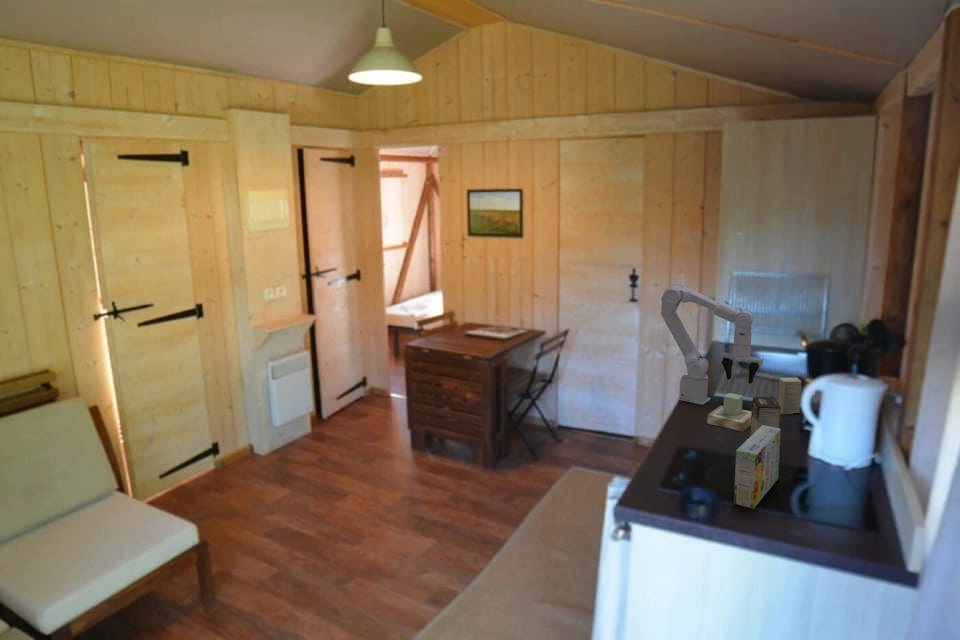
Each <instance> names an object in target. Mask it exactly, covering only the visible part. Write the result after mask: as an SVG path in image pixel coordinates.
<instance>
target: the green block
mask: <svg viewBox="0 0 960 640" xmlns="http://www.w3.org/2000/svg"><path fill="white" fill-rule="evenodd" d="M743 398H744V395H741V394H738V393H737V394H736V393H731V392H728V393H727V394H725V395H724V396H723V405H722V406H723V413H724V414H728V415H733V416H738V415H739V414H740V413H742V410H743V401H744V400H743Z"/></svg>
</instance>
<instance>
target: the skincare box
mask: <svg viewBox="0 0 960 640" xmlns="http://www.w3.org/2000/svg"><path fill="white" fill-rule="evenodd" d="M802 383H803V382H802V380H800V379H799V378H798V377H793V376H792V377H779V380H778V390H777V391H778V392H777V393H778V396H777V402H778V404H779V406H780V407H781V409H780V415H794V414H793V413H799V414H800V409H801V408H800V404H801V393H802V392H801V391H802Z"/></svg>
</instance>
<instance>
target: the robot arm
mask: <svg viewBox="0 0 960 640" xmlns="http://www.w3.org/2000/svg"><path fill="white" fill-rule="evenodd" d="M691 302H692V303H694V304H697V305H699V306H702V307H704V308H706V309H709V310H712V312H713V314H714V316H716V317H718V318H721V319H723V320H725V321H727V322H730V323H732V324H734V332H733V345H732V347H733V348H732V352H731V353H729V352H720V353H719V359H720V360H721V364H722V366H723V368H724V371H725V375H726V380H728V381H729V380H731V379H732V374H733V373H732V372H733V370H732V369H733V363H734V361H736V362H741V363H747V364H749V365H747V366H748V382H747V383H748V384H750V385H751V384H752V383H753V382H754V380H755V379H754V378H755V375H756V374H757V371H758V370H759V368H760V366H762V365H764V364H763V363H764V358H759V357H754V356H751V348H752V347H751V345H752V333H753V332H752V329H753V328H752V324H753V320H754V315H753V312H751V311H750V310H749V309H747V308H742V307H740V306H739V307H738V306H736V305H733V304H732V303H730V301H728V300H720V301H715V300H714V299H712V298H710V297H708V296H706V295H704V294H702V293H700V292H698V291H695V290H694V289H692V288H690V287H688V286H683V285H682V284H679V283H676V284H675V283H674V284H672V285H671V286H669V288H667V289H666V290H664V292H663V294H662V296H661V307H660V308H661V309H660V310H661V311H660V314H661V316H662V319H663V320H664V322H665V324H666V326H667V328H668V330H669V331H670V334H671V335H672V337H673V339H674V340H675V342H676V344H677V346H678V348H679V350H680V352H681V354H682V355H683V358H684V363H685V366H686V369H687V370H686V371H687V372H686V373H687V374H683V375H682V376H681V378H680V381H679V394H678V396H679V397H678V401H684V402H688V403H693V404H696V405H697V404H698V405H701V406H702V405H705V404H706V403H708V402H709V401H711V399H712V398H711V397H708V388H709V387H708V386H709V385H708V384H709V376H708V374H707V372H708V370H709V368H710V363H709V361H708V359H706V358H705V357H704V356H703V355H702V353H701V351H699V350H698V349H697V348H696V346H695V344H694V342H693V341H692V338H691V337H690V335H689V333H688V331H687V329H686V328H685V326H684V324H683V322H682V320H681V318H680V316H679V315H678V313H677V311H678V309H679V307H680V306H679V305H680V304H681V303H682V304H683V303H691Z"/></svg>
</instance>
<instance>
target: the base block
mask: <svg viewBox="0 0 960 640" xmlns="http://www.w3.org/2000/svg"><path fill="white" fill-rule="evenodd" d="M723 406H724V405H721V404H720V405H719V406H718V407H716V408H715V409H714V410H712V411H711V412H709V413H708V414H706V415H707V416H706V417H707V418H706V424H707V425H712V426H717V427H721V428H726V429H731V430H733V431H738V432H744V431H746V430H747V429H748V428H749V427H751V416H752V410H745V409H742V413H740V414H739V415H738V416H733V415H728V414H724V413H723Z"/></svg>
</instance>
